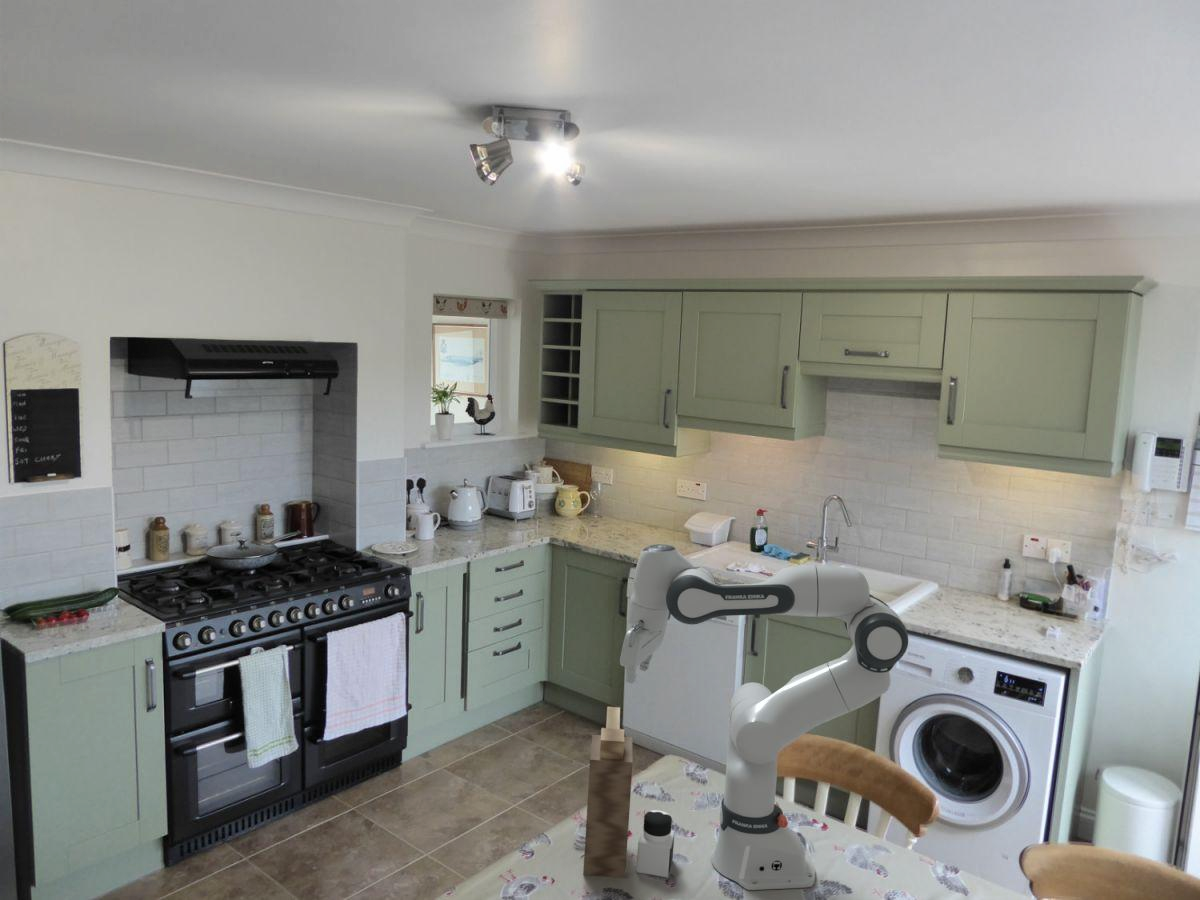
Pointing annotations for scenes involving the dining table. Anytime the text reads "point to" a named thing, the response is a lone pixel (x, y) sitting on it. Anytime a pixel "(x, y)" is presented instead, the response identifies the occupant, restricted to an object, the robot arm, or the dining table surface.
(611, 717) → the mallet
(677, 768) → the dining table surface
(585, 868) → the stand
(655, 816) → the medicine bottle
